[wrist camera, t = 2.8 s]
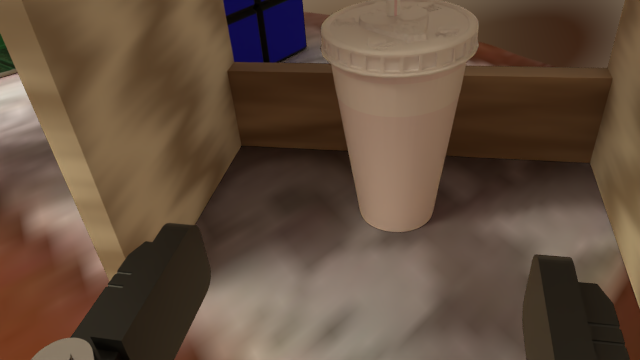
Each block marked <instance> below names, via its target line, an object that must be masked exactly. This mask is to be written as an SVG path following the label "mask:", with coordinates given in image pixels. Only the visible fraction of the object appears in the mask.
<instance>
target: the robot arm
mask: <svg viewBox="0 0 640 360" xmlns="http://www.w3.org/2000/svg"><path fill="white" fill-rule="evenodd" d="M210 278H211V271H210V265H209V262H208V258H207V254H206V251H205V247H204V243H203V240H202V236H201V233H200V230H199V228H198V227H197V226H196V225H188V224H176V223H166V224H165V225H164V226H163V227H162V228H161V230H160V231H159V233H158V234H157V236H156V237H155V239H154V240H153V242H148V241H145V242H144V243H143V244H141V245H140V246H139V247H138V248H136V249H135V250H134V251H132V252H131V253H130V254H129V255H128V256H127V257H126V259H125V260H124V262H123V263H122V264H121V266H120V267H119V269H118V270H117V274H115V275H114V276H113V277H112V279H111V280H110V282H109V283H108V287H105V289H104V290H103V292H102V293H101V295H100V296H99V297H98V299H97V300H96V302H95V303H94V305H93V306H92V308H91V309H90V310H89V312H88V313H87V315H86V316H85V318H84V319H83V320H82V322H81V323H80V325H79V326H78V328H77V329H76V330H75V332H74V333H73V335H72V336H71V337H70V338H66V339H61V340H58V341H56V342H53V343H51V344H49V345H48V346H46V347H44V348H43V349H42V350H40V351H39V352H38V353H37V354H36V355H35V356H34V357H33V358H32V359H31V360H174V358H175V356H176V354H177V352H178V350H179V348H180V346H181V344H182V342H183V340H184V338H185V336H186V334H187V332H188V330H189V328H190V326H191V324H192V322H193V320H194V318H195V316H196V314H197V312H198V310H199V308H200V306H201V304H202V302H203V300H204V297H205V295H206V293H207V291H208V288H209V285H210ZM522 322H523V334H524V342H525V351H526V360H630V359H629V355H628V352H627V349H626V348H625V342H624V338H623V335H622V332H621V330H620V329H619V326H620V325H619V321H618V318H617V315H616V311H615V308H614V305H613V303H612V302H611V300H610V299H609V298H608V297H607V295H606V294H605V293H604V292H603V291H602V289H601V288H600V287H599V286H598V284H593V283H582V282H578V279H577V275H576V271H575V267H574V263H573V260H572V258H570V257H560V256H548V255H534V257H533V260H532V265H531V269H530V274H529V278H528V283H527V288H526V292H525V297H524V302H523V315H522Z"/></svg>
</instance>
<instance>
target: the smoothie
mask: <svg viewBox="0 0 640 360" xmlns="http://www.w3.org/2000/svg"><path fill="white" fill-rule="evenodd" d="M478 27H479V23H478V20H477V18H476V17H475V16H474V15H473V14H472V13H471V12H470V11H468V10H466V9H465V8H463V7H461V6H458V5H456V4H452V3H449V2H445V1H440V0H371V1H366V2H361V3H357V4H354V5H350V6H348V7H345V8H342V9H340V10H338V11H336V12H335V13H333V14H331V15H330V16H329V17H328V18H326V19H325V21H324V22H323V23H322V25H321V38H322V45H321V48H320V49H321V52H322V55H323V57H324V58H325V59H326V60H327V61H328V62H329V63H330V64H331V66H332V72H333V77H334V83H335V89H336V93H337V97H338V102H339V108H340V113H341V118H342V123H343V128H344V133H345V138H346V143H347V148H348V153H349V158H350V163H351V168H352V173H353V178H354V183H355V188H356V193H357V198H358V204H359V209H360V213H361V216H362V217H363V219H364V220H365V221H366V222H367V223H368V224H370V225H371V226H373V227H375V228H377V229H380V230H384V231H389V232H406V231H411V230H414V229H417V228H419V227H421V226H423V225H424V224H426V223H427V222H428V221H429V219H430V218H431V216H432V214H433V209H434V205H435V200H436V196H437V192H438V187H439V183H440V178H441V174H442V169H443V165H444V161H445V156H446V152H447V147H448V143H449V138H450V134H451V130H452V125H453V121H454V116H455V112H456V107H457V103H458V99H459V94H460V91H461V86H462V81H463V77H464V72H465V67H466V62H467V61H468V60H469V59H470V58H471V57H473V56H474V55H475V53H476V51H477V49H478V46H479V44H478V40H477V35H478Z"/></svg>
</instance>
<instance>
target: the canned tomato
mask: <svg viewBox="0 0 640 360" xmlns="http://www.w3.org/2000/svg"><path fill="white" fill-rule="evenodd" d="M14 73H17V70H16V68H15V65H14V63H13V61H12V59H11V56H10V54H9V52H8V50H7V47H6V45H5V43H4V41H3V38H2V36H1V34H0V77H4V76H8V75H11V74H14Z"/></svg>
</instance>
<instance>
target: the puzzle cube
mask: <svg viewBox="0 0 640 360" xmlns="http://www.w3.org/2000/svg"><path fill="white" fill-rule="evenodd" d="M223 3H224V9H225V14H226V20H227V25H228V31H229V36H230V42H231V47H232V53H233V58H234V62H261V63H278V62H280V61H282V60H284V59H286V58H288V57H290V56H292V55H294V54H296V53H297V52H299V51H301V50H303V49H305V48H306V47H307V46H306V35H305V24H304V13H303V2H302V0H223Z"/></svg>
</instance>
